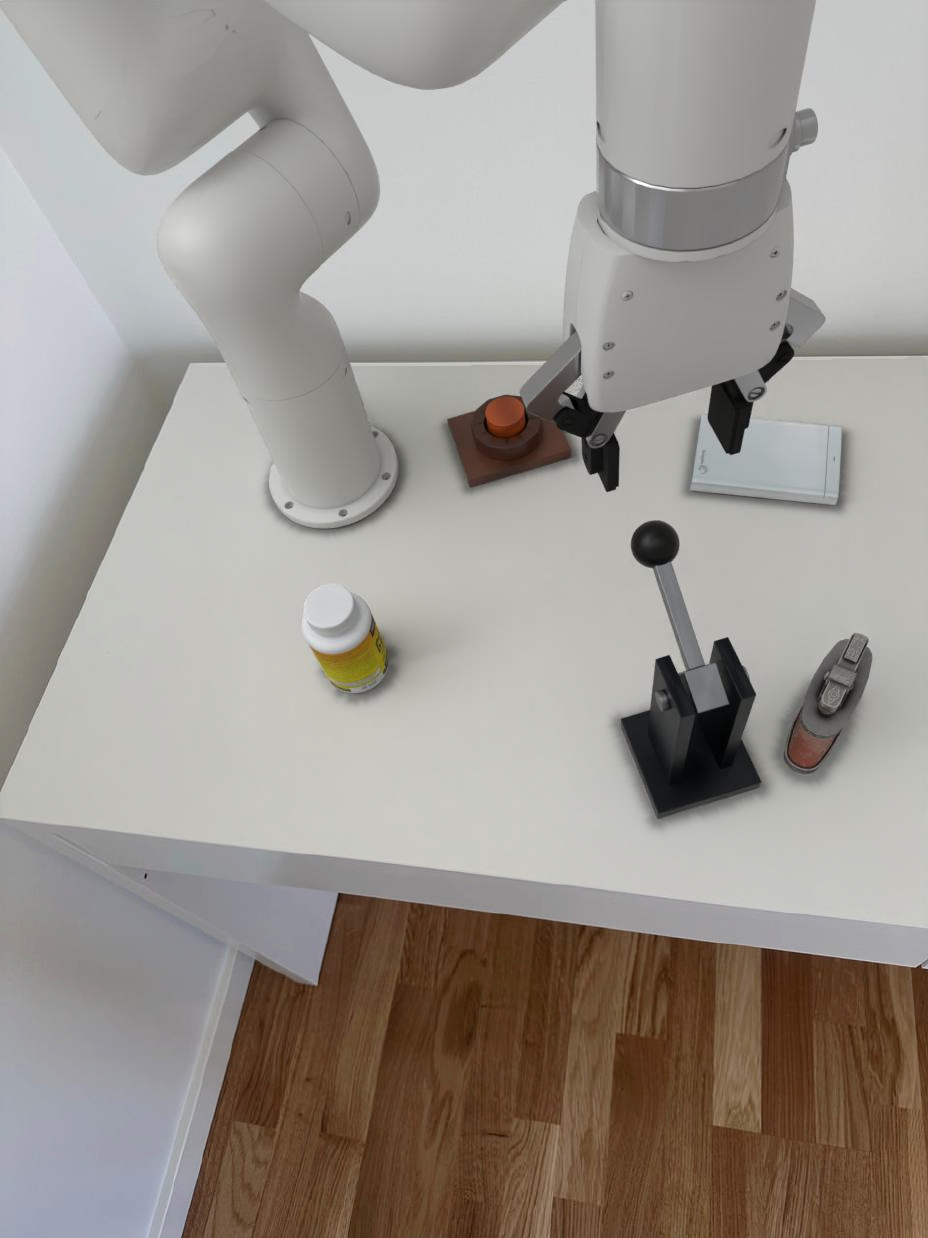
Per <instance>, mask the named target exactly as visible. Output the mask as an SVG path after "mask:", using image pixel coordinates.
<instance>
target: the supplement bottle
mask: <svg viewBox="0 0 928 1238" xmlns="http://www.w3.org/2000/svg"><path fill="white" fill-rule="evenodd" d="M367 603H368V602H366V600H365V599H364V598H362V597H361V596H360V595H359V594H357V593H354V592H353V591H350V590H349V589H348V587H346V586H344V585H343V584H339V583H325V584H322V585H320V586H318V587H316V588H314V589H313V590H312V591H310V593H309V594H308V595H307V596H306V598H305V600H304V603H303V609H302V611H303V615H302V619H301V634H302V636H303V638H304V640H305V642H306V643H307V645H308V648H310V650H311V652H312V653H313V655H314V658H315V659H316V661H317V662H318V664H319V666H320V668H321V670H322V671H323V673H324V675H325V676H326V678H327V680H328V681H329V682H330V684H331V685H332V686H334V688H336V689H337V690H339V691H341V692H343V693H344V692H345V693H348V694H361V693H364V692H367V691H369V690H371V689H373V688H375V687H376V686H378V684H380V683H381V682H382V680H383V679H384V678H385V676H386V675H387V672H388V670H389V667H390V666H389V665H390V655H389V651H388V649H387V646H386V643H385V641H384V640H383V637H382V634H381V631H380V629H379V627H378V625H377V623H376V620H375V618H374V616H373V613H372V610H371V609H370V607H369V605H368V604H367Z"/></svg>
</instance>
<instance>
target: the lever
mask: <svg viewBox="0 0 928 1238" xmlns="http://www.w3.org/2000/svg"><path fill="white" fill-rule="evenodd" d="M680 543H681V542H680V537H679V534H678V532H677V531H676V529H675V527H673V526H672V525H671V524H670V523H668V522H666V521H663V520H657V519H653V520H648V521H646V522H643V523H642V524H640V525H639V526H638V527H636V529H635V530H634V532H633V534H632V536H631V538H630V550H631V554H632V556H633V558H634V560H635V561H636V562H637V563H638V564H640V565H641V566H643V567H645V568H648V569H652V571H653V573H654V578H655V580H656V583H657V586H658V590H659V592H660V595H661V599H662V602H663V605H664V608H665V611H666V614H667V617H668V620H669V623H670V626H671V629H672V633H673V635H674V638H675V641H676V644H677V647H678V650H679V654H680V657H681V660H682V662H683V666H684V669H685V670H683V671H679V672H678V675H679V677H680V679H681V681H682V684H683V686H684V688H685V690H686V693H687V695H688V697H689V699H690V702H691V704H692V706H693V708H694V711H695V714H699V713H702V712H705V711H708V710H712V709H715V708H718V707H722V706H725V705H728V704H729V700H728V697H727V694H726V691H725V688H724V685H723V682H722V679H721V676H720V673H719V669H718V666H717V663H710V664H709V663H705V660H704V657H703V653H702V651H701V648H700V645H699V642H698V639H697V636H696V632H695V630H694V627H693V623H692V621H691V618H690V614H689V611H688V608H687V606H686V602H685V599H684V596H683V594H682V590H681V587H680V585H679V581H678V578H677V575H676V572H675V569H674V566H673V561H674V560H675V559H676V558H677V556H678V554H679V551H680Z"/></svg>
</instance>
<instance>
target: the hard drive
mask: <svg viewBox="0 0 928 1238" xmlns="http://www.w3.org/2000/svg"><path fill="white" fill-rule="evenodd" d="M707 416H708V413H703V412H702V413H701V414H700V420H699V426H698V432H697V439H696V446H695V452H694V459H693V467H692V474H691V480H690V486H689V487H690V488H689V491H693V492H701V493H712V494H723V495H730V496H738V497H739V496H741V497H751V498H761V499H770V500H780V501H790V502H792V501H793V502H802V503H812V504H821V505H830V506H836V505H837V503H838V501H839V495H840V481H841V480H840V479H841V460H842V441H843V440H842V439H843V425H837V424H828V423H827V424H826V423H815V422H814V423H812V422H802V421H792V420H782V419H771V418H757V417H750V422H749V427H748V428H746V429H745V431H744V436H743V441H742V446H741V451H740V453H737V454H734V455H730V454H726V453H725V451H724V449H723V447H722V445H721V444H720V442H719V440H718V438H717V436H716V435H715V433H714V431H713V429H712V427H711V426H710V424H709V422H708V418H707Z"/></svg>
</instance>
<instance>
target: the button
mask: <svg viewBox="0 0 928 1238" xmlns="http://www.w3.org/2000/svg"><path fill="white" fill-rule="evenodd" d="M485 415H486V421H487V427H488V430H489V431H490V432H491V434H493V435H494V436H496V437H499V438H510V437H513V436H516V435H517V434H519V433H520V432H521V431H522V430H523V428H524V426H525V412H524V406H523V404H522V403H521V402H520V401H519V400H518V399H516V398H513V397H500V398H497V399H495V400H493V401H492V402H491V403H490V404H489V405H488V406H487V408H486V411H485Z"/></svg>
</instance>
